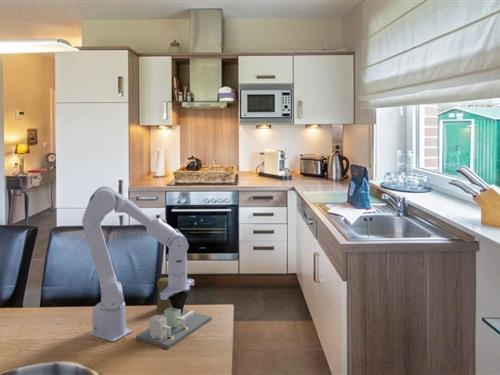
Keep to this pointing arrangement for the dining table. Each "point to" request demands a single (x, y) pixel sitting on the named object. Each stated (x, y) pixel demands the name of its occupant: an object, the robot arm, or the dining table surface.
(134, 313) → the dining table surface
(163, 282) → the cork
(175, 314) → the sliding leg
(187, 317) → the plate
